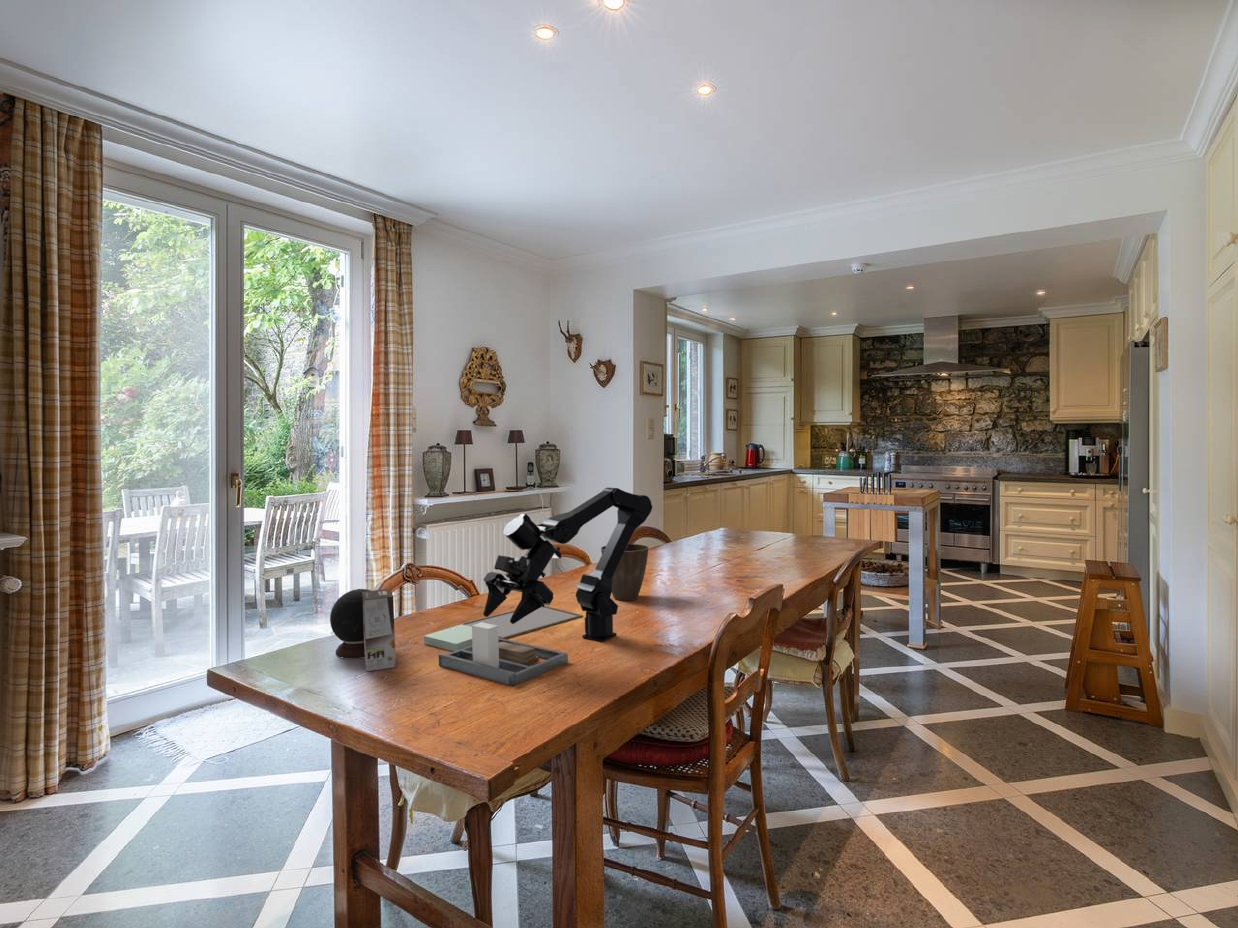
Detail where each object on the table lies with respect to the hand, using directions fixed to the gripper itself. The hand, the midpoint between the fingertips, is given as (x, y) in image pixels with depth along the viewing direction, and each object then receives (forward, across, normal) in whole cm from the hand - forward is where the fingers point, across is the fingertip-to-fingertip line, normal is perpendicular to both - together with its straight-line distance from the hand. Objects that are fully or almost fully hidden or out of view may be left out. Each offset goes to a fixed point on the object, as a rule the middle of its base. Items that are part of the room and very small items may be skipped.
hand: (497, 619), depth 149 cm
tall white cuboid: (+10, 0, +5) cm, 11 cm away
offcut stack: (+5, 0, +11) cm, 12 cm away
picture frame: (-12, -24, +27) cm, 38 cm away
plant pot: (-39, -18, +53) cm, 68 cm away
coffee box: (+19, -23, -3) cm, 30 cm away
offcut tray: (+6, 0, +9) cm, 11 cm away
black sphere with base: (+17, -35, -2) cm, 39 cm away
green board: (+4, -22, +11) cm, 25 cm away
